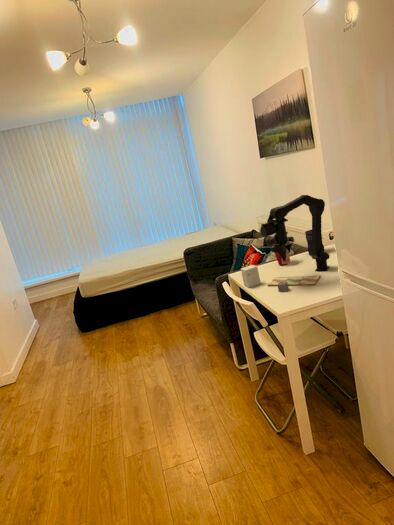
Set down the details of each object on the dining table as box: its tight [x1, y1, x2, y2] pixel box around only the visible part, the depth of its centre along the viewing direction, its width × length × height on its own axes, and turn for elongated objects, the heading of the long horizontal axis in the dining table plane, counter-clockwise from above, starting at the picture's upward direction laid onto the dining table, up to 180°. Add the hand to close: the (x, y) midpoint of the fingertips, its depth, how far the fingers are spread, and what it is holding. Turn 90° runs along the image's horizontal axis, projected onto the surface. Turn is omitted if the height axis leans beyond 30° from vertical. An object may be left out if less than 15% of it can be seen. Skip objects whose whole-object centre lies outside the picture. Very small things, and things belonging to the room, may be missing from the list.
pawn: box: [282, 248, 292, 265], centre depth 206 cm, size 5×5×8 cm
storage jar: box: [304, 229, 324, 246], centre depth 246 cm, size 10×10×15 cm
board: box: [267, 275, 321, 287], centre depth 208 cm, size 12×26×1 cm, turn 58°
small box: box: [240, 264, 262, 289], centre depth 217 cm, size 8×6×10 cm
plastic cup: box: [273, 252, 288, 266], centre depth 240 cm, size 11×11×12 cm
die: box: [277, 282, 290, 293], centre depth 199 cm, size 4×4×4 cm
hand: (285, 259), depth 207 cm, fingers closed on pawn, 4 cm apart
